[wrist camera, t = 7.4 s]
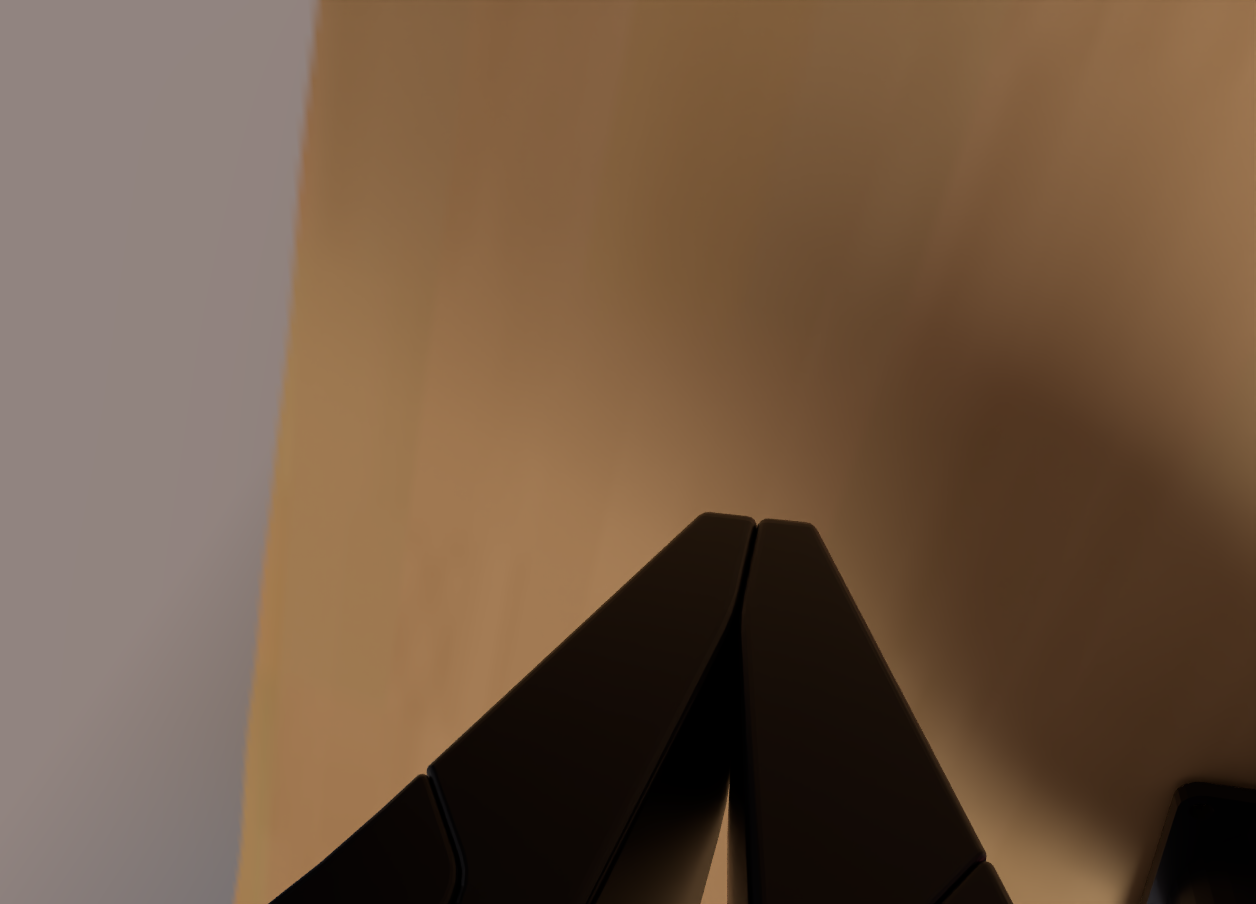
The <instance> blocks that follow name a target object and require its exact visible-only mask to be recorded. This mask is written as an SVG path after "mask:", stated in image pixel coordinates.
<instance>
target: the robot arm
mask: <svg viewBox="0 0 1256 904" xmlns="http://www.w3.org/2000/svg"><path fill="white" fill-rule="evenodd" d="M729 784H730V788H729ZM728 790H729V809H728V849H727V904H1013V902H1012V901H1011V899H1010V897H1009V895H1008V893H1007V891H1006V889H1005V887H1004V885H1003V883H1002V881H1001V879H1000V878H999V876H998V874H997V872H996V870H995V868H994V866H993V865H992V864H991V863H989V862H986V852H985V850H984V848H983V846H982V844H981V842H980V840H979V839H978V837H977V835H976V833H975V831H974V829H973V827H972V825H971V823H970V821H969V819H968V818H967V816H966V814H965V812H964V810H963V808H962V806H961V804H960V802H959V800H958V798H957V796H956V795H955V793H954V791H953V789H952V787H951V785H950V783H949V781H948V779H947V777H946V775H945V773H944V772H943V770H942V768H941V766H940V764H939V762H938V760H937V758H936V756H935V754H934V752H933V751H932V749H931V747H930V745H929V743H928V741H927V739H926V737H925V735H924V733H923V731H922V729H921V728H920V726H919V724H918V722H917V720H916V718H915V716H914V714H913V712H912V710H911V708H910V707H909V705H908V703H907V701H906V699H905V697H904V695H903V693H902V691H901V689H900V687H899V685H898V684H897V682H896V680H895V678H894V676H893V674H892V672H891V670H890V668H889V666H888V664H887V662H886V661H885V659H884V657H883V655H882V653H881V651H880V649H879V647H878V645H877V643H876V641H875V640H874V638H873V636H872V634H871V632H870V630H869V628H868V626H867V624H866V622H865V620H864V618H863V617H862V615H861V613H860V611H859V609H858V607H857V605H856V603H855V601H854V599H853V597H852V596H851V594H850V592H849V590H848V588H847V586H846V584H845V582H844V580H843V578H842V576H841V574H840V573H839V571H838V569H837V567H836V565H835V563H834V561H833V559H832V557H831V555H830V553H829V551H828V550H827V548H826V546H825V544H824V542H823V540H822V538H821V536H820V534H819V532H818V531H817V529H816V528H815V527H814V526H813V525H812V524H810V523H807V522H798V521H788V520H778V519H764V520H762V521H760V523H759V524H758V526H757V525H756V522H755V520H754V519H753V518H751V517H748V516H741V515H731V514H722V513H713V512H705V513H703V514H701V515H699V516H698V517H697V518H696V519H695V520H694V521H692V522H691V523H690V524H689V525H688V526H687V527H686V528H685V529H684V530H683V531H682V532H681V533H679V534H678V535H677V536H676V537H675V538H674V539H673V540H672V541H671V542H670V543H669V544H668V545H667V546H665V547H664V548H663V549H662V550H661V551H660V552H659V553H658V554H657V555H656V556H655V557H654V558H653V559H651V560H650V561H649V562H648V563H647V564H646V565H645V566H644V567H643V568H642V569H641V570H640V571H638V572H637V573H636V574H635V575H634V576H633V577H632V578H631V579H630V580H629V581H628V582H627V583H626V584H624V585H623V586H622V587H621V588H620V589H619V590H618V591H617V592H616V593H615V594H614V595H613V596H612V597H610V598H609V599H608V600H607V601H606V602H605V603H604V604H603V605H602V606H601V607H600V608H599V609H598V610H596V611H595V612H594V613H593V614H592V615H591V616H590V617H589V618H588V619H587V620H586V621H585V622H583V623H582V624H581V625H580V626H579V627H578V628H577V629H576V630H575V631H574V632H573V633H572V634H571V635H569V636H568V637H567V638H566V639H565V640H564V641H563V642H562V643H561V644H560V645H559V646H558V647H557V648H555V649H554V650H553V651H552V652H551V653H550V654H549V655H548V656H547V657H546V658H545V659H544V660H542V661H541V662H540V663H539V664H538V665H537V666H536V667H535V668H534V669H533V670H532V671H531V672H530V673H528V674H527V675H526V676H525V677H524V678H523V679H522V680H521V681H520V682H519V683H518V684H517V685H516V686H514V687H513V688H512V689H511V690H510V691H509V692H508V693H507V694H506V695H505V696H504V697H503V698H501V699H500V700H499V701H498V702H497V703H496V704H495V705H494V706H493V707H492V708H491V709H490V710H489V711H487V712H486V713H485V714H484V715H483V716H482V717H481V718H480V719H479V720H478V721H477V722H476V723H475V724H473V725H472V726H471V727H470V728H469V729H468V730H467V731H466V732H465V733H464V734H463V735H462V736H461V737H459V738H458V739H457V740H456V741H455V742H454V743H453V744H452V745H451V746H450V747H449V748H448V749H446V750H445V751H444V752H443V753H442V754H441V755H440V756H439V757H438V758H437V759H436V760H435V761H434V762H432V763H431V764H430V765H429V766H428V768H427V775H425V774H420V775H418V776H417V777H416V778H414V779H413V780H412V781H411V782H410V783H409V784H408V785H407V786H406V787H405V788H404V789H403V790H402V791H400V792H399V793H398V794H397V795H396V796H395V797H394V798H393V799H392V800H391V801H390V802H389V803H388V804H386V805H385V806H384V807H383V808H382V809H381V810H380V811H379V812H378V813H376V814H375V815H374V816H373V817H372V818H371V819H370V820H368V821H367V822H366V823H365V824H364V825H363V826H362V827H360V828H359V829H358V830H357V831H356V832H355V833H354V834H352V835H351V836H350V837H349V838H348V839H347V840H346V841H344V842H343V843H342V844H341V845H340V846H339V847H338V848H336V849H335V850H334V851H333V852H332V853H331V854H330V855H328V856H327V857H326V858H325V859H324V860H323V861H322V862H320V863H319V864H318V865H317V866H315V867H314V868H313V869H312V870H310V871H309V872H308V873H307V874H305V875H304V876H303V877H301V878H300V879H299V880H298V881H296V882H295V883H294V884H293V885H291V886H290V887H289V888H288V889H286V890H285V891H284V892H282V893H281V894H280V895H279V896H277V897H276V898H275V899H274V900H272V901H271V902H270V903H269V904H700V903H701V900H702V896H703V892H704V888H705V885H706V881H707V877H708V874H709V870H710V866H711V863H712V859H713V855H714V851H715V848H716V844H717V840H718V837H719V832H720V828H721V824H722V820H723V816H724V811H725V807H726V802H727V796H728ZM1195 804H1206V805H1203V806H1193V805H1195ZM1140 904H1256V790H1251V789H1245V788H1238V787H1231V786H1224V785H1218V784H1211V783H1204V782H1192V783H1189V784H1185V785H1183V786H1182V787H1180V788H1178V789H1177V791H1176V792H1175V794H1174V797H1173V800H1172V803H1171V806H1170V809H1169V812H1168V816H1167V819H1166V822H1165V825H1164V828H1163V831H1162V835H1161V838H1160V841H1159V844H1158V847H1157V850H1156V854H1155V857H1154V860H1153V863H1152V866H1151V869H1150V873H1149V876H1148V879H1147V882H1146V885H1145V888H1144V892H1143V895H1142V898H1141V901H1140Z"/></svg>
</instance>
